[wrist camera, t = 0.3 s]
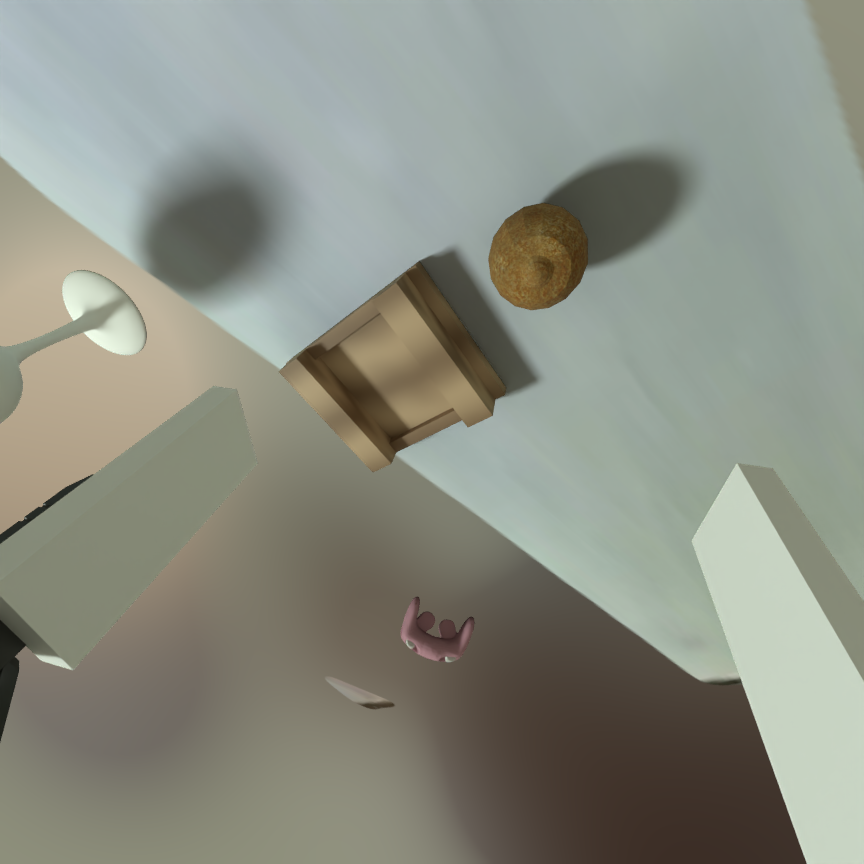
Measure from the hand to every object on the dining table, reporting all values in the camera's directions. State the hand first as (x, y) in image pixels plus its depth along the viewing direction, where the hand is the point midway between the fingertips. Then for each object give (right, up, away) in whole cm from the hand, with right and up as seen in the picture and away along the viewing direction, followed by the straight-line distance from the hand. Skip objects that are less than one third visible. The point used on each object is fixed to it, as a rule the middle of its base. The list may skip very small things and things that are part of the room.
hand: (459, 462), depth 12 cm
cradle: (-4, +6, +27) cm, 28 cm away
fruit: (+7, +14, +19) cm, 25 cm away
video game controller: (0, -26, +50) cm, 56 cm away
